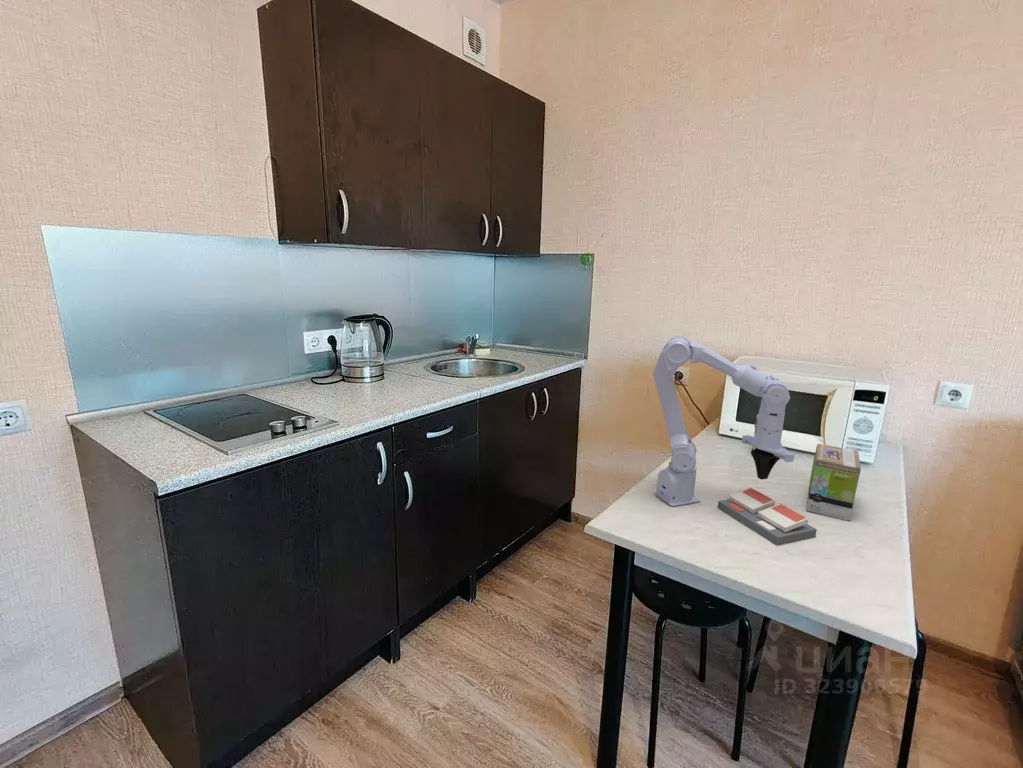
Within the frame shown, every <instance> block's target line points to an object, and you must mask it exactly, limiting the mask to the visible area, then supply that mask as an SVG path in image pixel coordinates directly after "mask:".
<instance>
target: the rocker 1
mask: <svg viewBox="0 0 1023 768" xmlns="http://www.w3.org/2000/svg"><path fill="white" fill-rule="evenodd" d="M728 499H730V500H731V501H733V502H734V503H736V504H738V505H739V506H741V507H743V508H745V509H746V510H748V511H750V512H751V513H753V514H754V513H756V512H758V511H761V510H763V509H766V508H768V507H771V506H773V505H774V506H775V505H776V500H775V499H773V498H771V497H768V495H766V494H763V493H762V492H760V491H758V490H756V489H754V488H752V487H748V488H746V489H743V490H741V491H738V492H735V493H733V494H730V495H729V498H728Z"/></svg>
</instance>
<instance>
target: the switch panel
mask: <svg viewBox="0 0 1023 768" xmlns="http://www.w3.org/2000/svg"><path fill="white" fill-rule="evenodd" d="M717 504H718V505H717V509H719V510H720V511H722V512H723V513H725V514H727V515H728V516H729V517H732V519H734V520H736V521H737V522H738V523H741V524H742V525H744V526H745V527H747V528H749V529H750V530H752V531H753V532H754V533H756V534H758V535H759V536H761V537H763V538H765V539H766V540H768V541H769V542H771V543H772V544H774V545H776V546H781V545H785V544H790V543H794V542H799V541H802V540H808V539H812V538H815V537H816V535H817V530H818V529H817V528H815V527H813V526H812V525H810V524H809V523H807V524H805V525H802V526H800V527H797V528H795V529H792V530H790V531H787V532H784V531H782V530H780V529H779V528H777V527H775V526H774V525H772V524H770V523H769V522H767V521H765V520H763V519H762V518H760V517H758V512H759V511H758V512H756V513H754V514H753V513H751V512H750V511H748V510H746V509H745V508H743V507H741V506H739V505H738V504H736V503H734V502H733V501H731V500H730V498H728V499H722V500H718V502H717ZM773 506H775V505H773ZM771 507H772V506H771ZM768 508H770V507H768ZM766 509H767V508H766ZM763 510H764V509H763ZM761 511H762V510H761Z"/></svg>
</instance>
